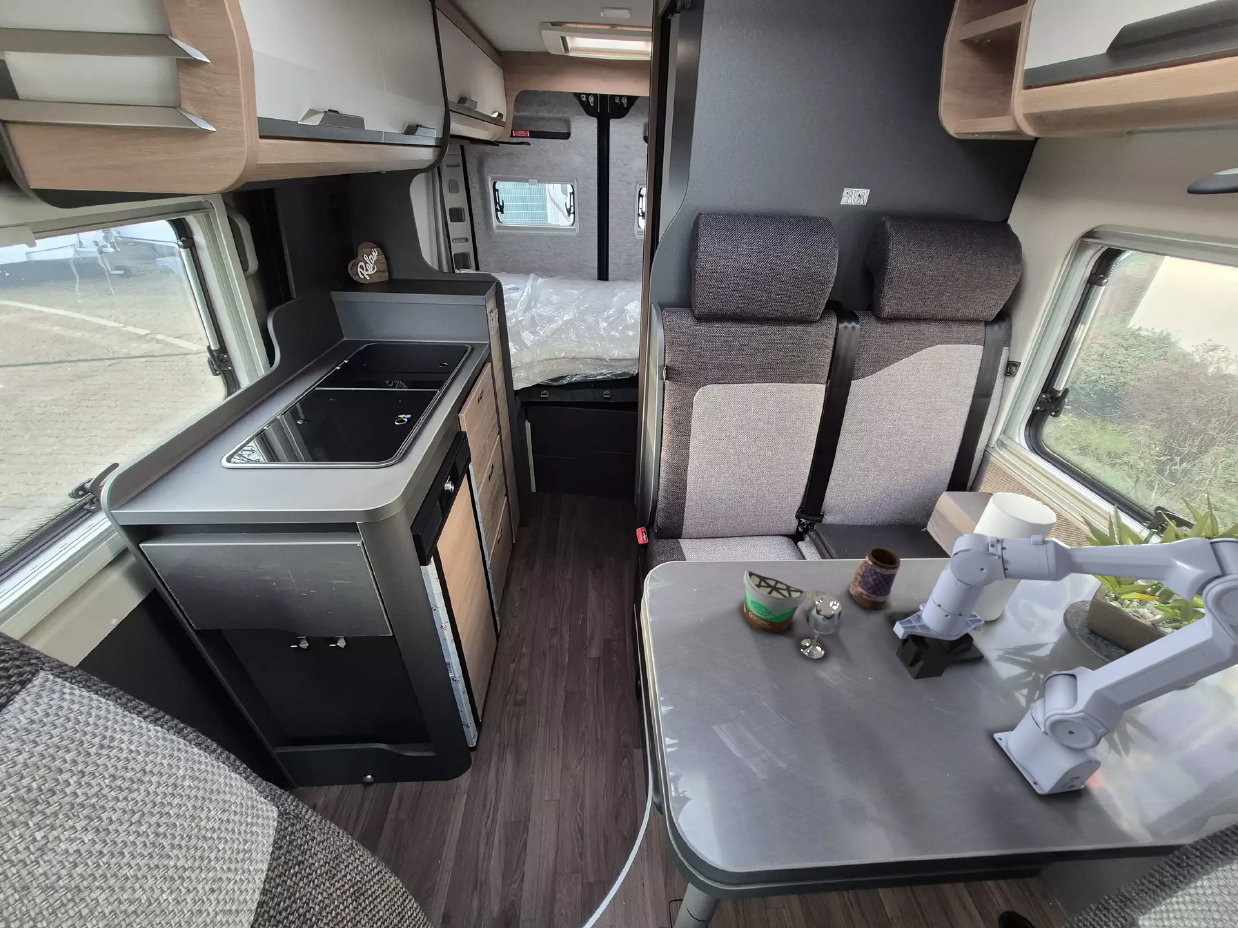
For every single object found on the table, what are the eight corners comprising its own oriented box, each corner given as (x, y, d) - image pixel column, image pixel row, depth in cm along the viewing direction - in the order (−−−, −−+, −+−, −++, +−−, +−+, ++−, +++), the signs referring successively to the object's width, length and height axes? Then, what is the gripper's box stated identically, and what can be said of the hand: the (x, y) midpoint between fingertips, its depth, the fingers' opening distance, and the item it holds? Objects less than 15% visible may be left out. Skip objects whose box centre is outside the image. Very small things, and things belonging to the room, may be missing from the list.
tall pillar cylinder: (940, 578, 119) (985, 486, 106) (993, 592, 116) (1047, 499, 103) (948, 611, 110) (998, 515, 97) (1005, 626, 107) (1065, 530, 94)
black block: (941, 676, 88) (952, 658, 85) (913, 679, 87) (923, 661, 84) (921, 651, 92) (930, 633, 90) (894, 654, 91) (903, 635, 89)
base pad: (982, 659, 100) (988, 649, 98) (926, 665, 98) (931, 655, 97) (940, 611, 110) (945, 602, 109) (888, 616, 108) (893, 606, 107)
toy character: (816, 611, 111) (816, 584, 110) (840, 627, 103) (841, 599, 103) (799, 614, 110) (799, 587, 109) (822, 630, 102) (822, 601, 102)
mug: (868, 582, 116) (885, 540, 110) (893, 605, 111) (912, 562, 105) (831, 593, 113) (847, 551, 107) (855, 617, 107) (873, 574, 101)
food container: (728, 621, 105) (737, 584, 100) (737, 601, 109) (746, 565, 104) (790, 646, 100) (803, 609, 95) (797, 625, 105) (809, 588, 100)
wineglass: (807, 664, 97) (823, 618, 91) (790, 639, 102) (805, 594, 95) (833, 658, 98) (851, 613, 92) (816, 634, 103) (832, 589, 97)
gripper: (973, 580, 86) (942, 636, 93) (894, 587, 84) (869, 644, 91) (1007, 612, 80) (971, 670, 87) (922, 621, 78) (893, 679, 85)
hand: (921, 659), depth 89 cm, fingers closed on black block, 5 cm apart
